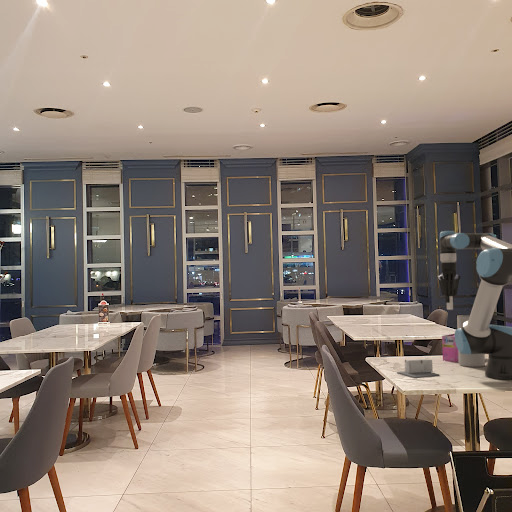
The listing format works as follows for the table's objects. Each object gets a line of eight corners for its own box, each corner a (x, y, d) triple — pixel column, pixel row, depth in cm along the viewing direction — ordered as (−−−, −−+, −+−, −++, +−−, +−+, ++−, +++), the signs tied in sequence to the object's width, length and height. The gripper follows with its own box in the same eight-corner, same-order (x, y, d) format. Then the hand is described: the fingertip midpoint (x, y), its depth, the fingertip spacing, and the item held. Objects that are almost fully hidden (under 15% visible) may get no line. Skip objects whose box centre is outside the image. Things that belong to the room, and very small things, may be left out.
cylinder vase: (490, 366, 261) (488, 316, 262) (467, 367, 259) (465, 317, 260) (476, 362, 273) (474, 315, 274) (454, 363, 271) (452, 315, 272)
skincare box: (433, 372, 245) (409, 373, 243) (428, 370, 249) (404, 372, 247) (432, 359, 245) (408, 360, 243) (427, 357, 250) (404, 359, 247)
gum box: (463, 355, 298) (463, 332, 299) (477, 357, 292) (476, 333, 293) (442, 360, 283) (441, 335, 283) (455, 362, 277) (455, 336, 277)
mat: (439, 375, 240) (439, 374, 240) (414, 378, 235) (414, 376, 235) (421, 371, 252) (421, 369, 252) (397, 373, 247) (396, 372, 247)
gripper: (453, 262, 265) (454, 308, 264) (432, 262, 260) (434, 309, 259) (464, 261, 258) (465, 309, 257) (443, 261, 253) (444, 310, 252)
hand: (449, 309), depth 258 cm, fingers closed
